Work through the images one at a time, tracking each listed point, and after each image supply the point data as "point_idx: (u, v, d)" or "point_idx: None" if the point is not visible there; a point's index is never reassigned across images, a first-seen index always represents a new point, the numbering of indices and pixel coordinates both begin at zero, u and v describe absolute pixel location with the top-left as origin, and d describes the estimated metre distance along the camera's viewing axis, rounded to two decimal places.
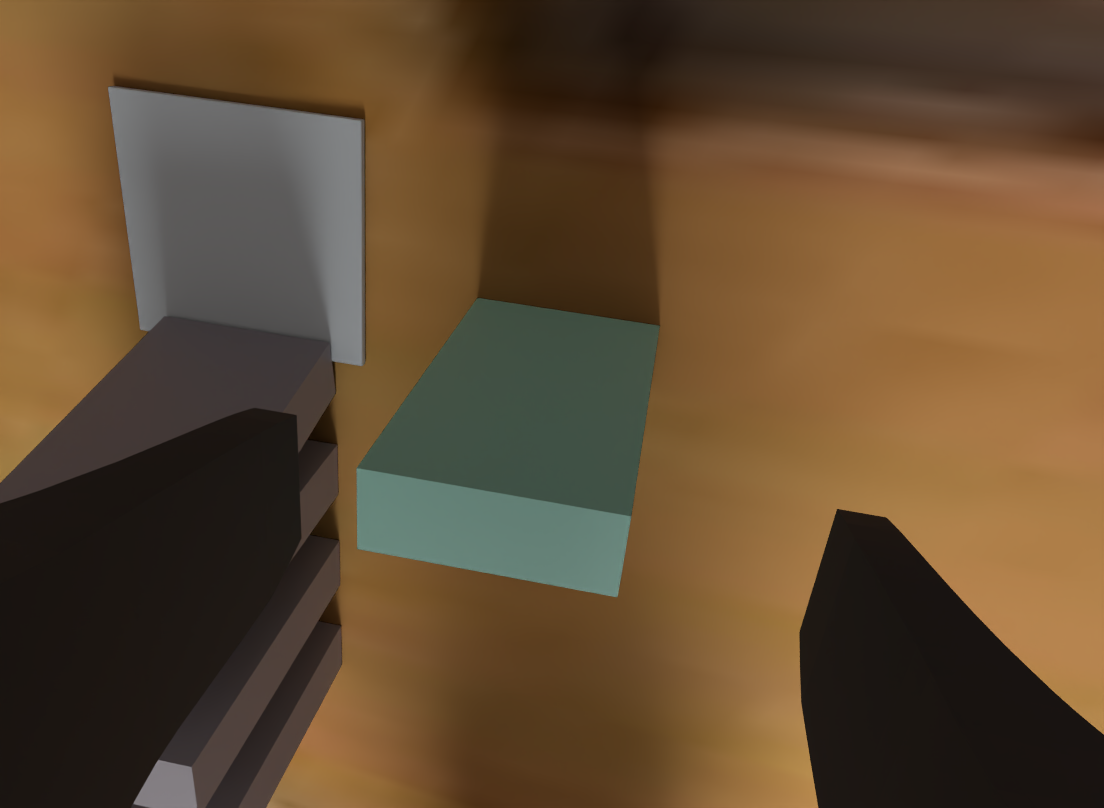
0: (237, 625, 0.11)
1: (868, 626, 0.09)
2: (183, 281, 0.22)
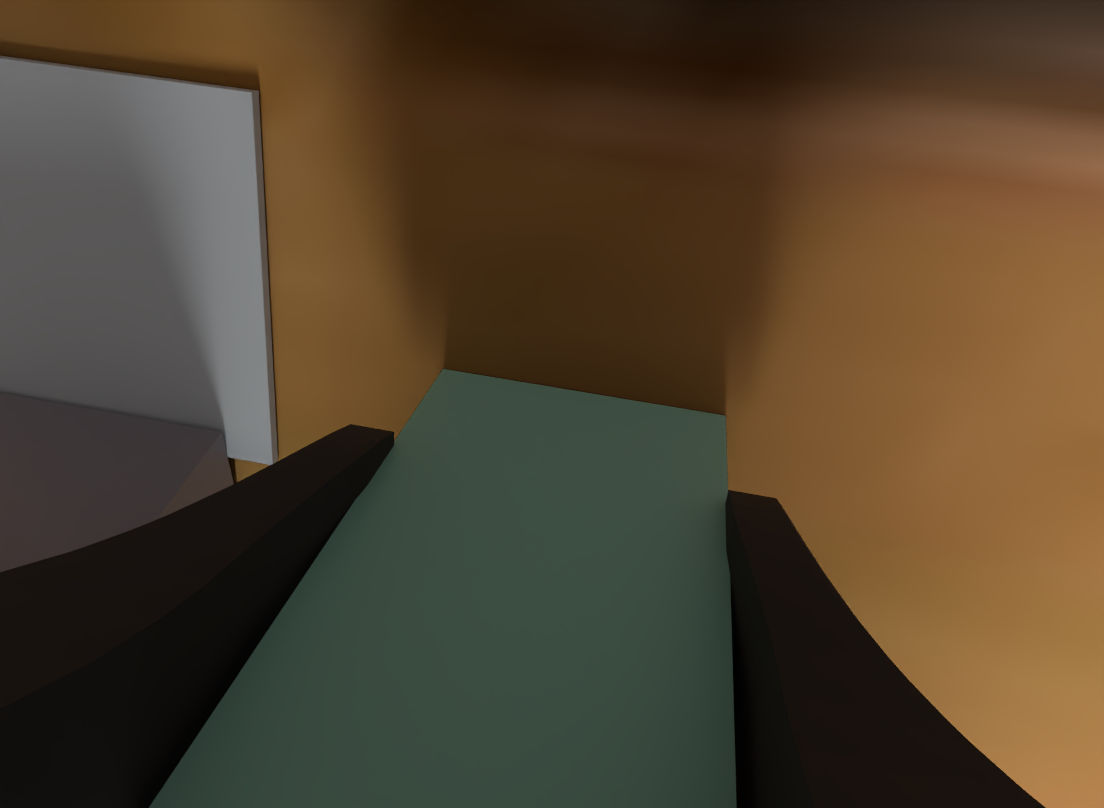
0: None
1: (738, 602, 0.09)
2: (2, 338, 0.14)
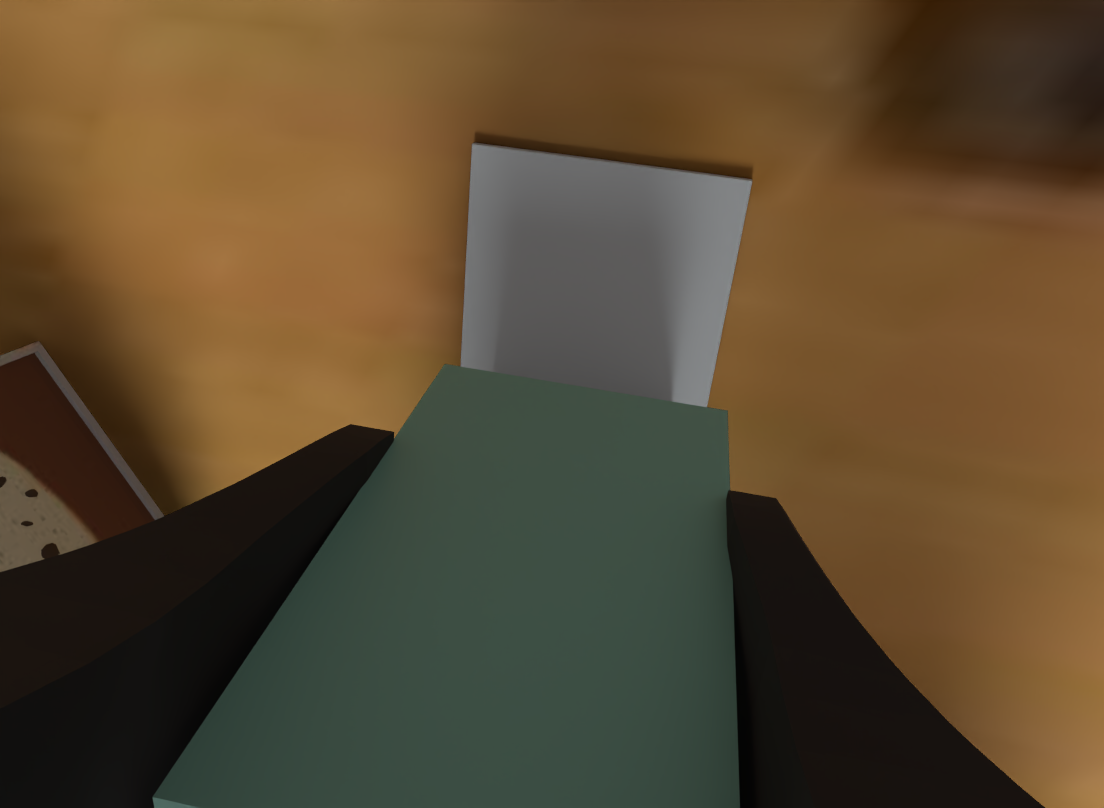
0: None
1: (738, 601, 0.09)
2: (518, 343, 0.21)
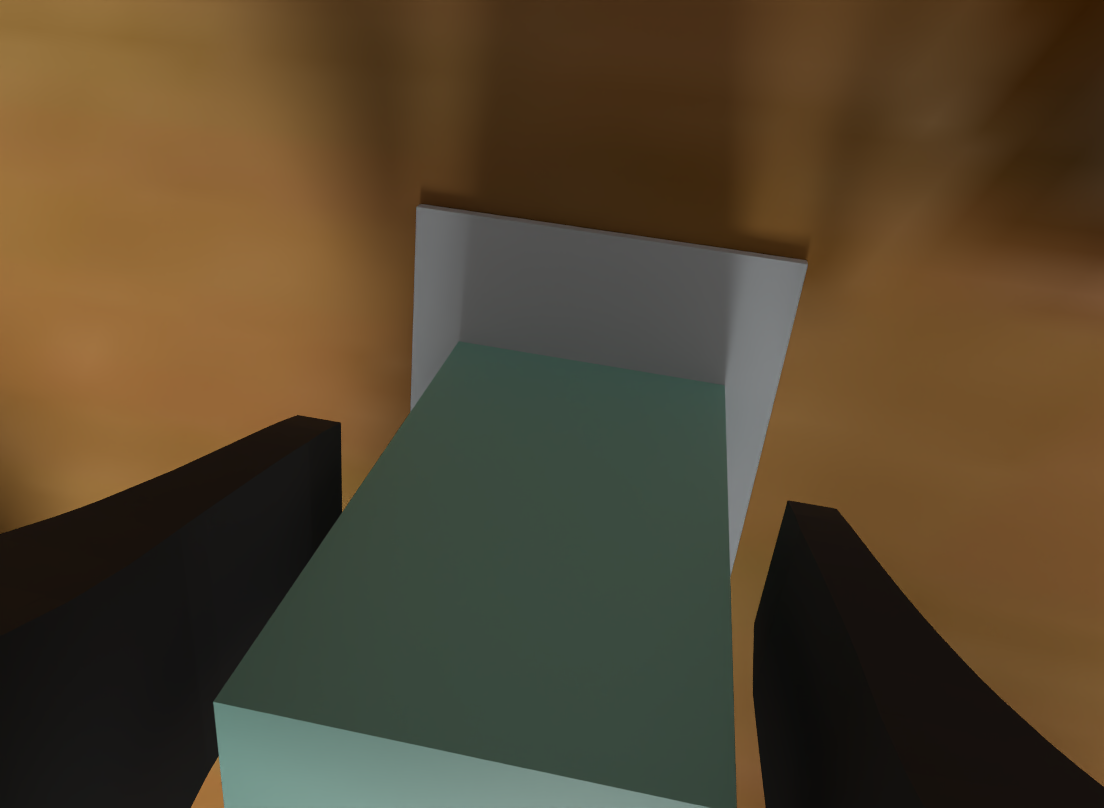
0: None
1: (809, 615, 0.09)
2: None
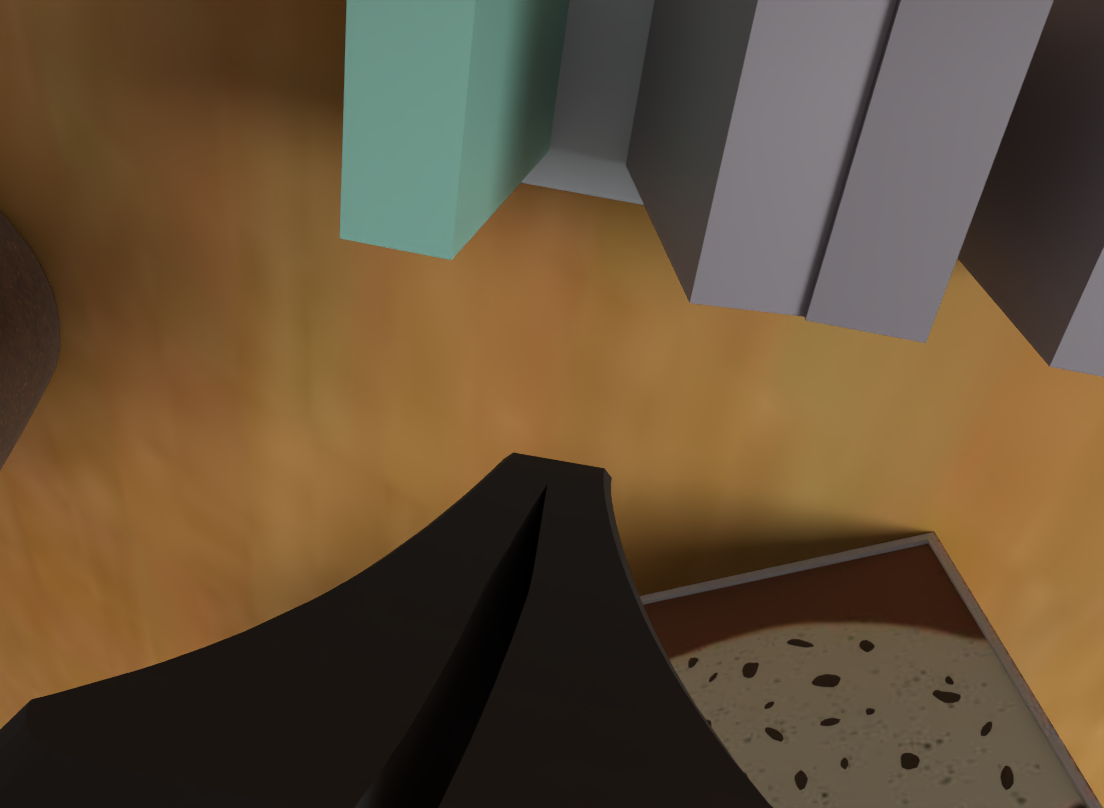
0: None
1: None
2: (585, 129, 0.19)
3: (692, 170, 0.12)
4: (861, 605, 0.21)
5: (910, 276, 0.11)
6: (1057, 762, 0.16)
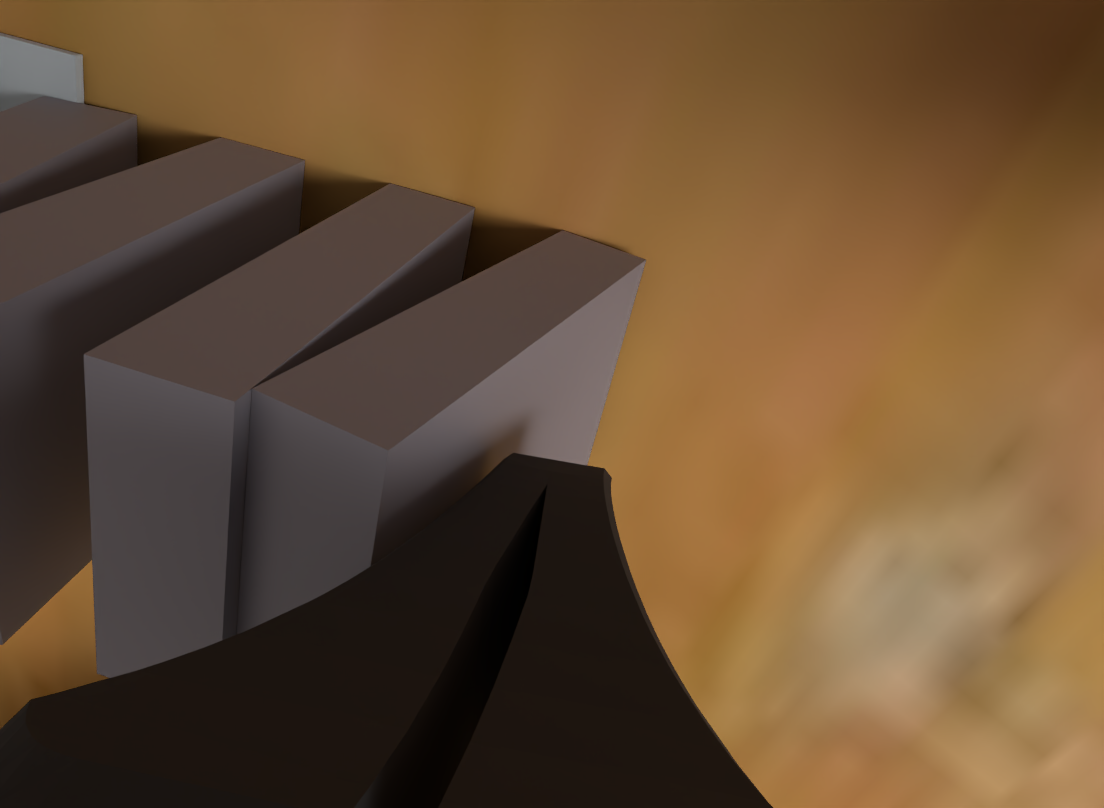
0: None
1: None
2: None
3: None
4: None
5: None
6: None
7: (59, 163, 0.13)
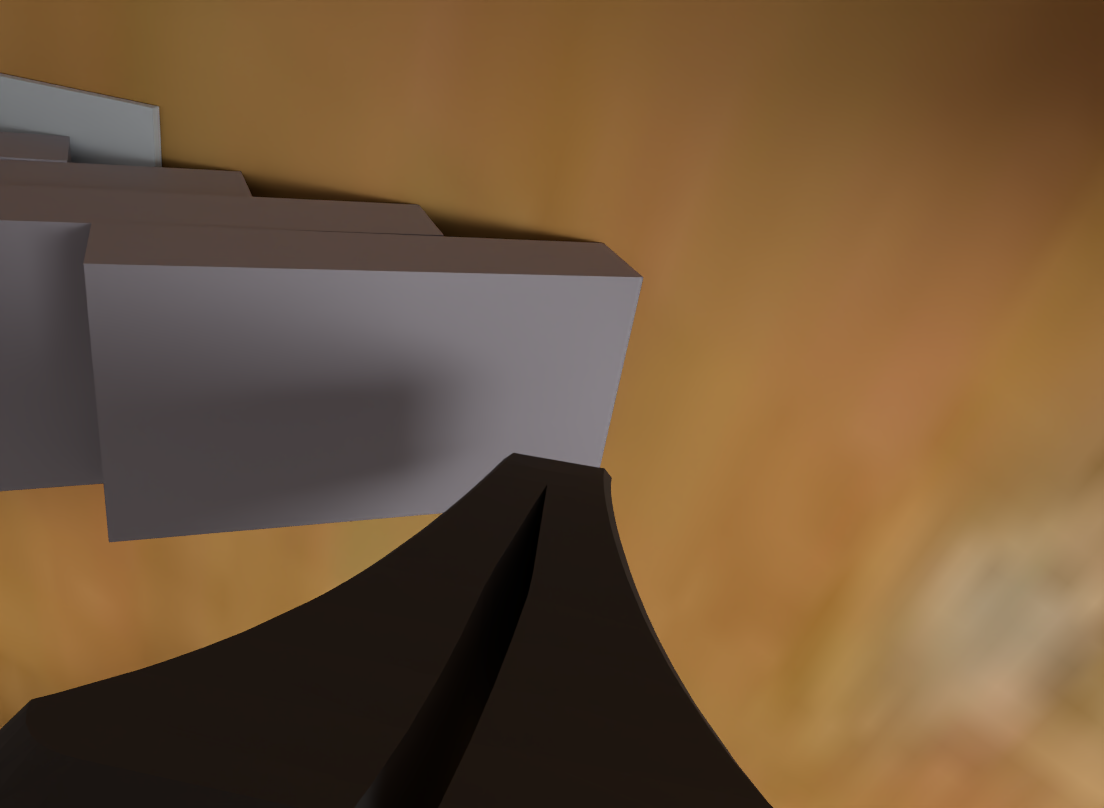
0: None
1: None
2: None
3: None
4: None
5: None
6: None
7: None
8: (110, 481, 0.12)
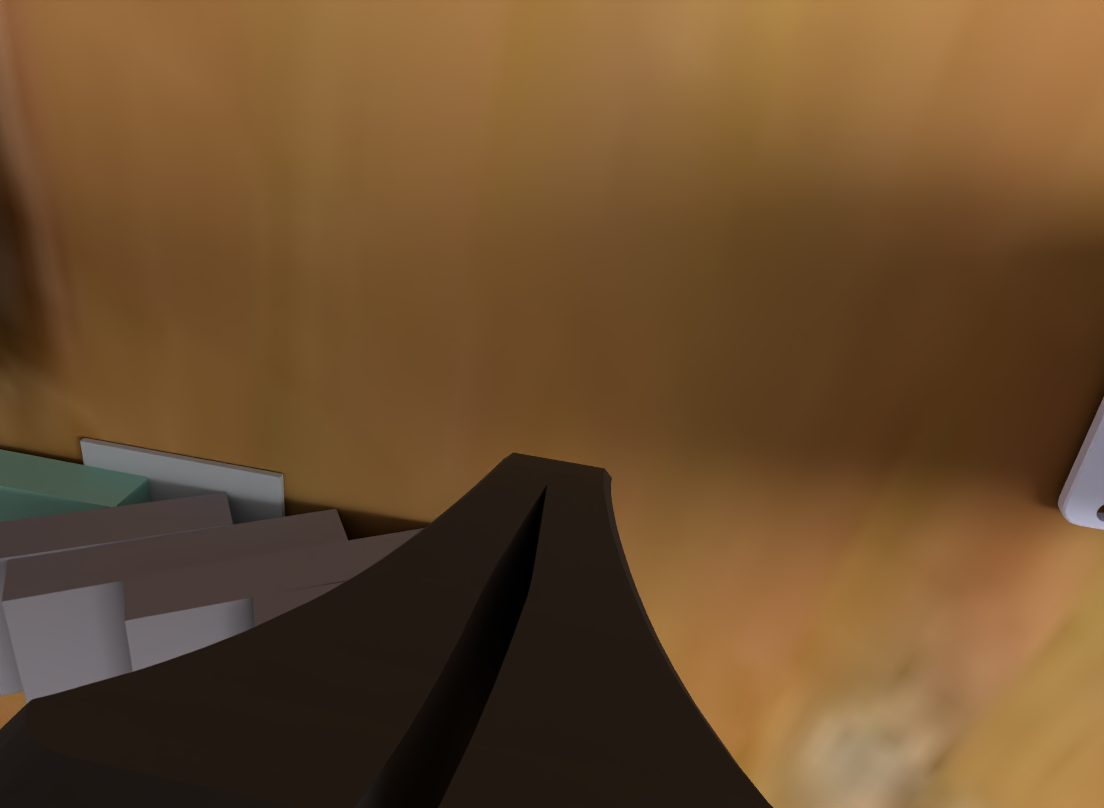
0: None
1: None
2: None
3: None
4: None
5: None
6: None
7: None
8: None
